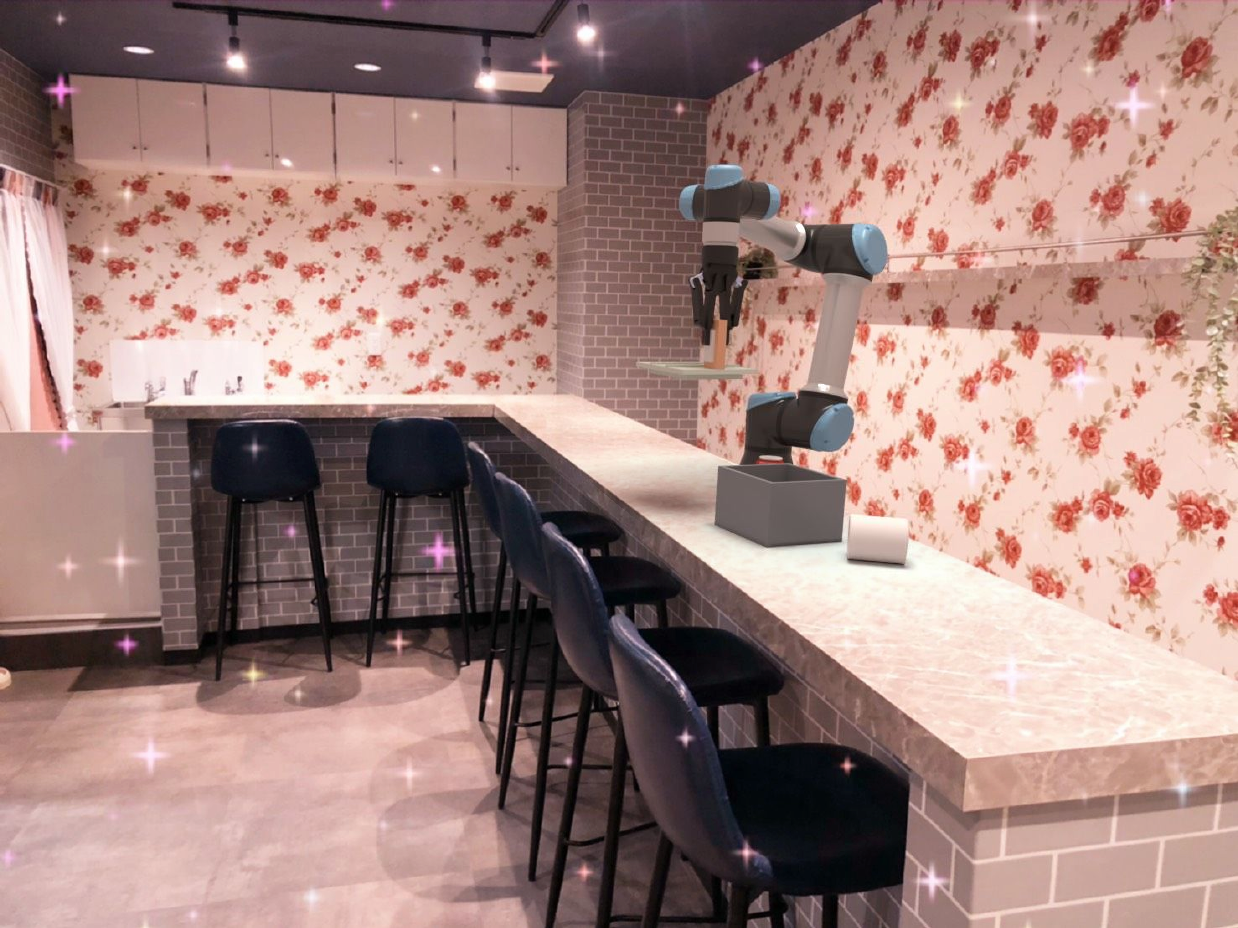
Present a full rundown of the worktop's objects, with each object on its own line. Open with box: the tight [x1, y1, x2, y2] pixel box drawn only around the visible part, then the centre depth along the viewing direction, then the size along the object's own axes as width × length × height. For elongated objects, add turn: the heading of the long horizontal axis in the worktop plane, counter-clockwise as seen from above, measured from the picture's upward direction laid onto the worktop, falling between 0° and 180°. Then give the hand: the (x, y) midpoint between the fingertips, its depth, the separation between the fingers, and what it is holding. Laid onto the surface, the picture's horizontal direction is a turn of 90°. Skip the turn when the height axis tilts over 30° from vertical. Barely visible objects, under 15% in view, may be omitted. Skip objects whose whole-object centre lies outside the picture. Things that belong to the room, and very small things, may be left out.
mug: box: [846, 513, 910, 565], centre depth 178 cm, size 12×10×8 cm
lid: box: [635, 318, 758, 381], centre depth 210 cm, size 18×20×12 cm
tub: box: [714, 463, 848, 548], centre depth 193 cm, size 17×19×12 cm
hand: (714, 361), depth 204 cm, fingers closed on lid, 2 cm apart
